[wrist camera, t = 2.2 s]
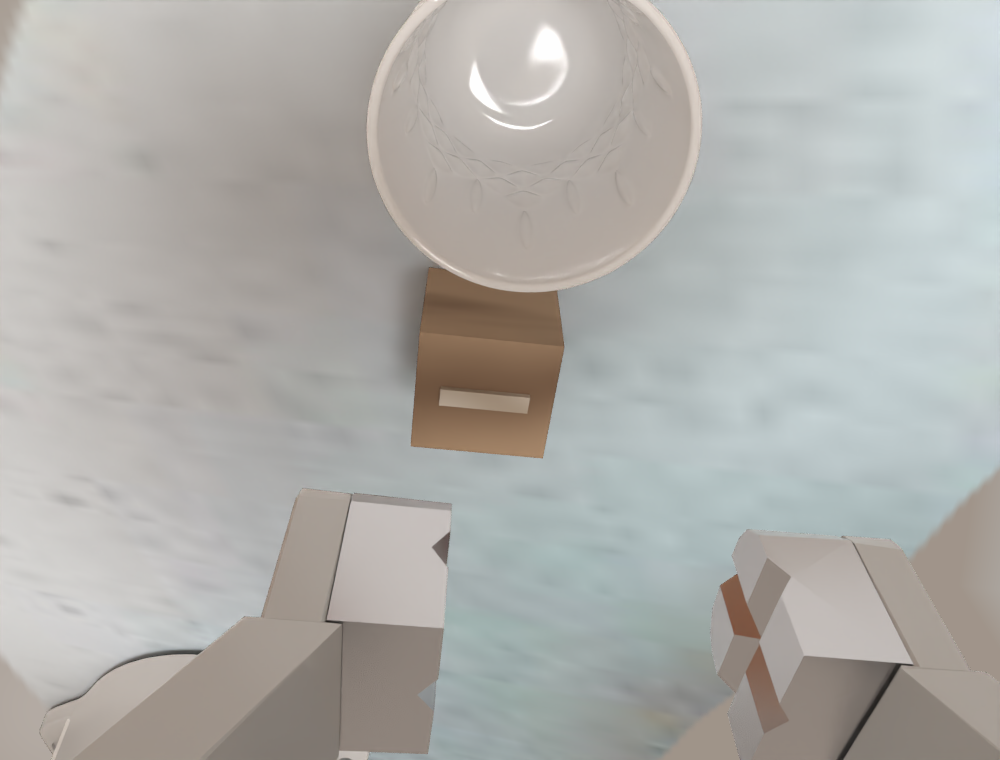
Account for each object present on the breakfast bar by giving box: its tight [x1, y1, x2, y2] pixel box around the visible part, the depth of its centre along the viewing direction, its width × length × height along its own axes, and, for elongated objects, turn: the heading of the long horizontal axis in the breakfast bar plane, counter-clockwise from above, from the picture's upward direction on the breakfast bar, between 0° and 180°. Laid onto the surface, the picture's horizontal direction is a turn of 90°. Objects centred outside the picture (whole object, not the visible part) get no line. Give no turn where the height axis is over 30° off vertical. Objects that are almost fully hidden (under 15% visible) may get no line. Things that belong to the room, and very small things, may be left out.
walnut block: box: [411, 267, 564, 458], centre depth 32 cm, size 5×5×5 cm
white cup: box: [367, 0, 702, 292], centre depth 24 cm, size 8×8×10 cm
